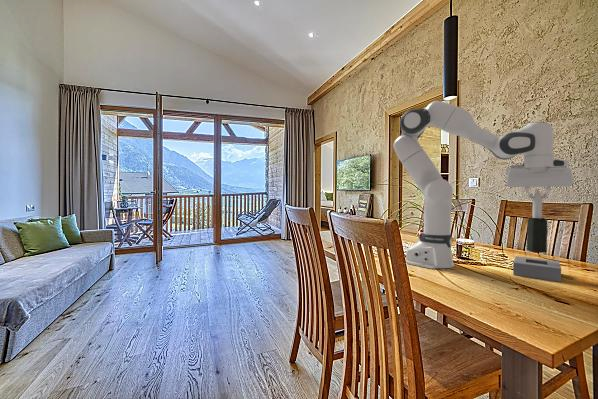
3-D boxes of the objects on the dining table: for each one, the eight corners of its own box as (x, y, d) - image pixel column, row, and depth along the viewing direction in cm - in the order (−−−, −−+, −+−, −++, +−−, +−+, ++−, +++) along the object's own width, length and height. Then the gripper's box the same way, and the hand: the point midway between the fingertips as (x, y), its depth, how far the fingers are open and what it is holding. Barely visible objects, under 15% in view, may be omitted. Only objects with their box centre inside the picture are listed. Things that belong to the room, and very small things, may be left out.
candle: (539, 250, 116) (540, 188, 115) (548, 252, 111) (549, 188, 110) (525, 249, 117) (526, 188, 116) (533, 252, 112) (534, 188, 111)
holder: (513, 274, 113) (513, 262, 113) (515, 267, 124) (515, 256, 124) (560, 282, 104) (561, 268, 104) (558, 273, 115) (559, 261, 115)
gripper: (505, 164, 117) (504, 198, 117) (574, 161, 104) (573, 198, 104) (506, 165, 122) (506, 197, 122) (572, 162, 109) (571, 198, 109)
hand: (537, 198), depth 113 cm, fingers closed on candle, 3 cm apart
